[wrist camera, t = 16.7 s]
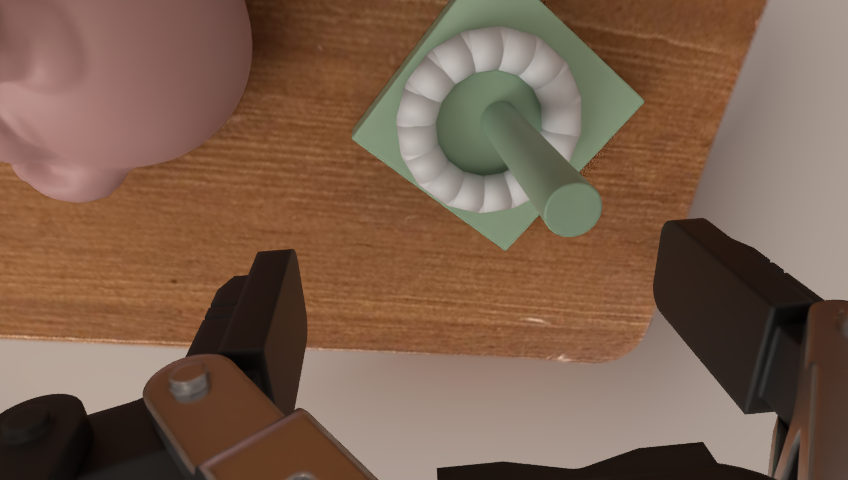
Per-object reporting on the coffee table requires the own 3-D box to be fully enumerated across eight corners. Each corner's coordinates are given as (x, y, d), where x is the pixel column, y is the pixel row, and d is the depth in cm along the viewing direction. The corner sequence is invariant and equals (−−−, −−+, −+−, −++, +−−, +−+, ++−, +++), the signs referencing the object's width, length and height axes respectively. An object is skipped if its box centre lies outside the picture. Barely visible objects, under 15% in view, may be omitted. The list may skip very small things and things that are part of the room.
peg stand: (484, -46, 23) (576, -56, 12) (631, 94, 26) (805, 180, 15) (352, 129, 25) (337, 242, 15) (499, 238, 28) (571, 394, 18)
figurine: (-13, 98, 24) (-339, 210, 13) (91, -165, 20) (-238, -317, 9) (188, 206, 26) (60, 373, 16) (311, -9, 23) (255, 15, 12)
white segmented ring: (476, -18, 22) (483, -17, 20) (610, 103, 24) (625, 111, 23) (360, 138, 24) (359, 149, 23) (494, 233, 26) (501, 249, 25)
